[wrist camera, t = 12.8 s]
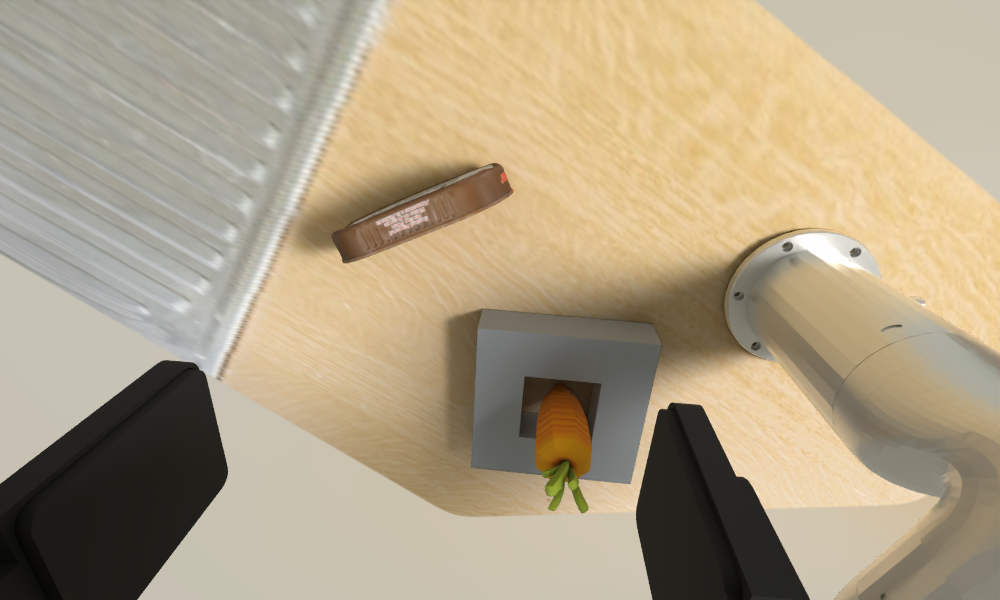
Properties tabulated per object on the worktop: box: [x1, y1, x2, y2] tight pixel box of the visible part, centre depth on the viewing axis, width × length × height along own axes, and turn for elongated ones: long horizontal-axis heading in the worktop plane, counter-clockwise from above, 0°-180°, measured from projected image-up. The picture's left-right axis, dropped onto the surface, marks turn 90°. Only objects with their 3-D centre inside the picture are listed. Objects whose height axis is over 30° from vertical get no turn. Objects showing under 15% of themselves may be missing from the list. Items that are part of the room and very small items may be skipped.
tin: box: [332, 163, 513, 263], centre depth 40 cm, size 15×3×8 cm, turn 112°
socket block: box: [471, 309, 662, 484], centre depth 48 cm, size 16×16×4 cm
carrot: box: [535, 384, 592, 513], centre depth 43 cm, size 5×5×15 cm
